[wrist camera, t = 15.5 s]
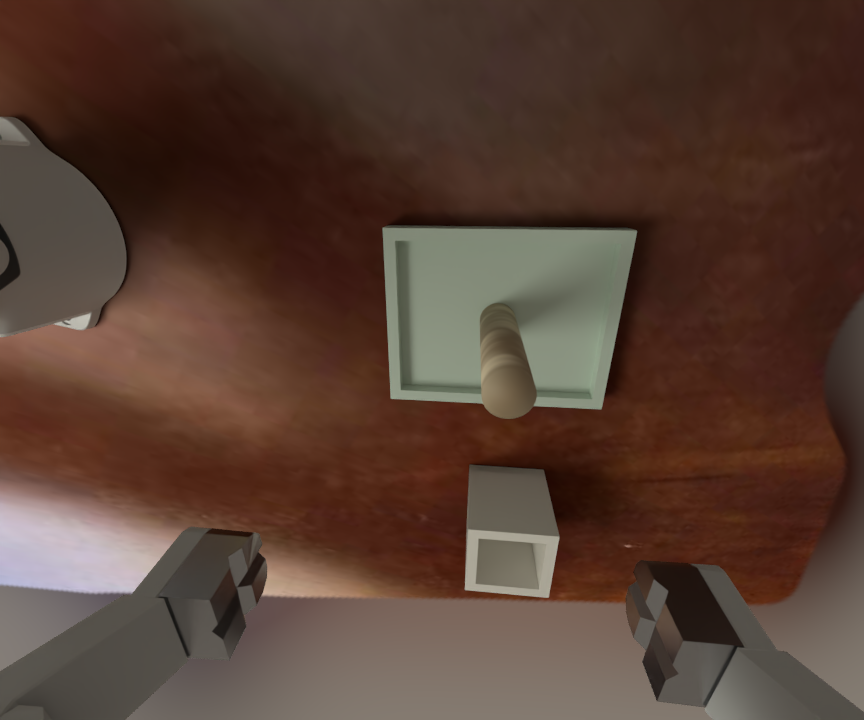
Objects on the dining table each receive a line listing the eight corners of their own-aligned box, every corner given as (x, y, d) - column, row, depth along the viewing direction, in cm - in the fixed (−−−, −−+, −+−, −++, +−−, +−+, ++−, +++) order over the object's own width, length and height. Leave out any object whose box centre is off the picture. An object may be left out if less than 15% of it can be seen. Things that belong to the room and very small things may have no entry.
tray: (394, 389, 41) (390, 398, 39) (387, 225, 35) (382, 227, 33) (595, 398, 39) (601, 409, 37) (628, 227, 33) (637, 230, 31)
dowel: (478, 336, 37) (480, 417, 24) (480, 302, 36) (482, 369, 23) (513, 337, 37) (534, 420, 24) (516, 303, 35) (539, 372, 23)
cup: (466, 519, 47) (464, 589, 39) (469, 464, 44) (467, 529, 36) (535, 524, 47) (548, 597, 38) (543, 469, 43) (559, 536, 35)
